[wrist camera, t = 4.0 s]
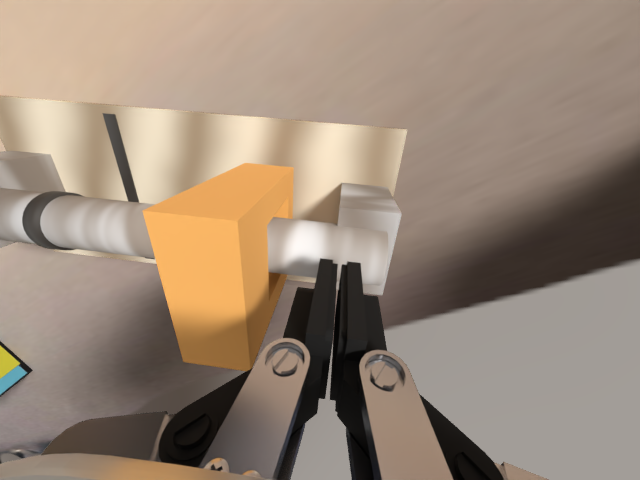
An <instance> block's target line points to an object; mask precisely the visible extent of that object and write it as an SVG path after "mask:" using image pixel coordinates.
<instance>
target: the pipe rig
mask: <svg viewBox="0 0 640 480" xmlns="http://www.w3.org/2000/svg"><path fill="white" fill-rule="evenodd" d="M406 134H407V130H406V129H398V128H386V127H374V126H362V125H349V124H337V123H325V122H313V121H301V120H289V119H277V118H265V117H253V116H240V115H228V114H216V113H204V112H192V111H180V110H168V109H156V108H144V107H131V106H119V105H107V104H95V103H83V102H71V101H59V100H47V99H35V98H22V97H10V96H0V139H1V141H2V143H3V145H4V147H5V149H6V151H4V152H0V248H2V247H4V246H7V245H10V244H12V243H15V242H22V243H30V244H37V245H39V246H42V247H45V248H49V249H54V251H56V252H65V253H73V254H81V255H89V256H97V257H106V258H114V259H122V260H130V261H138V262H147V263H155V264H157V263H156V259H155V256H154V252H153V248H152V245H151V241H150V237H149V233H148V230H147V226H146V222H145V219H144V215H143V210H145V209H147V208H149V207H151V206H153V205H155V204H158V203H160V202H162V201H164V200H166V199H168V198H171V197H173V196H175V195H177V194H179V193H181V192H183V191H186V190H188V189H190V188H192V187H194V186H196V185H199V184H201V183H203V182H205V181H207V180H209V179H211V178H214V177H216V176H218V175H220V174H222V173H224V172H226V171H229V170H231V169H233V168H235V167H237V166H239V165H242V164H244V163H253V164H263V165H274V166H285V167H294V176H293V219H289V218H279V217H273V218H272V219H271V221H270V222H269V223H268V225H267V239H268V272H270V273H279V274H287V278H286V280H294V281H302V282H311V283H316V278H317V272H318V267H319V262H320V258H321V259H330V260H333V263H335V264H338V268H337V284H336V290H339V282H340V274H341V266H342V264H344V265H347V261H349V262H358V263H361V273H362V284H363V293H368V294H376V295H383V290H384V286H385V282H386V278H387V273H388V269H389V265H390V261H391V257H392V252H393V248H394V244H395V240H396V235H397V231H398V227H399V223H400V219H401V212H400V210H399V208H398V206H397V204H396V202H395V200H394V199H393V195H394V190H395V185H396V181H397V176H398V171H399V167H400V162H401V157H402V152H403V148H404V143H405V138H406Z"/></svg>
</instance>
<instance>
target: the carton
mask: <svg viewBox="0 0 640 480" xmlns="http://www.w3.org/2000/svg"><path fill="white" fill-rule="evenodd" d="M31 371H33V370H32V369H31V368H29V367H28V366H27V365H26V364H25V363H24V362H23V361H22V360H20V359H19V358H18V357H17V356H16V355H15V354H14V353H13V352H12V351H10V350H9V349H8V348H7V347H6V346H5V345H4V344H3V343H1V342H0V396H2V395H3V394H4V393H5V392H7V391H8V390H9V389H10V388H12V387H13V386H14V385H15V384H16V383H18V382H19V381H20V380H21V379H23V378H24V377H25V376H26V375H28V374H29V373H30V372H31Z"/></svg>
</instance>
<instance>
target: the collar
mask: <svg viewBox="0 0 640 480" xmlns="http://www.w3.org/2000/svg"><path fill="white" fill-rule="evenodd" d="M293 176H294V167H285V166H274V165H263V164H253V163H244V164H242V165H239V166H237V167H235V168H233V169H231V170H229V171H226V172H224V173H222V174H220V175H218V176H216V177H214V178H211V179H209V180H207V181H205V182H203V183H201V184H199V185H196V186H194V187H192V188H190V189H188V190H186V191H183V192H181V193H179V194H177V195H175V196H173V197H171V198H168V199H166V200H164V201H162V202H160V203H158V204H155V205H153V206H151V207H149V208H147V209H145V210H143V215H144V219H145V222H146V226H147V230H148V233H149V237H150V241H151V245H152V248H153V252H154V256H155V259H156V263H157V267H158V270H159V274H160V278H161V281H162V285H163V289H164V292H165V296H166V300H167V303H168V307H169V311H170V314H171V318H172V322H173V326H174V329H175V333H176V337H177V340H178V344H179V348H180V351H181V355H182V359H183V362H187V363H194V364H200V365H207V366H214V367H221V368H228V369H235V370H241V371H248V370H250V369H252V367H253V364H254V362H255V359H256V357H257V354H258V351H259V349H260V346H261V344H262V341H263V338H264V336H265V333H266V330H267V328H268V325H269V323H270V320H271V317H272V315H273V312H274V309H275V307H276V304H277V302H278V299H279V296H280V294H281V291H282V289H283V286H284V283H285V281H286V278H287V274H279V273H270V272H268V239H267V225H268V223H269V222H270V221H271V219H272V218H273V217H279V218H289V219H293Z"/></svg>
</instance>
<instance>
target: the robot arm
mask: <svg viewBox="0 0 640 480" xmlns="http://www.w3.org/2000/svg"><path fill="white" fill-rule="evenodd" d="M337 268H338V264H335V263H333V260H330V259H321V258H320V262H319V267H318V272H317V278H316V283H315V288H314V289H309V288H300V287H298V288H297V291H296V294H295V298H294V301H293V305H292V308H291V312H290V315H289V318H288V322H287V325H286V329H285V332H284V336H283V338H282V339H277V340H275V341H272V342H271V343H270V344H268V345H267V346H266V347H265V348H264V350H263V351H262V352H261V354H260V356H259V358H258V360H257V362H256V363H255V365H254V367H253V368H252V369H250V370H248V371H246V372H245V373H243V374H241V375H240V376H238V377H236V378H235V379H233V380H231V381H229V382H228V383H226V384H224V385H223V386H221V387H219V388H218V389H216V390H214V391H212V392H211V393H209V394H207V395H206V396H204V397H202V398H200V399H199V400H197V401H195V402H193V403H192V404H190V405H188V406H187V407H185V408H184V409H182V410H181V411H180V412H178V413H177V414H169V415H168V413H167V411H162V412H153V413H143V414H134V415H124V416H115V417H105V418H96V419H89V420H86V421H82V422H79V423H77V424H75V425H73V426H71V427H69V428H67V429H66V430H65V431H63V432H62V433H61V434H60V435H58V436H57V437H56V438H55V439H54V440H53V441H52V442H51V443H50V444H49V445H48V446H47V448H46V449H45V450H44V451H43V453H42V454H41V455H40V456H33V457H28V458H23V459H19V460H14V461H9V462H5V463H2V464H0V480H290V479H291V475H292V472H293V468H294V464H295V460H296V457H297V453H298V449H299V446H300V443H301V439H302V435H303V432H304V428H305V423H306V422H307V421H308V420H309V419H310V418H312V417H313V416H314V415H315V414H316V413H317V409H318V400H319V398H321V399H325V394H326V386H327V379H328V372H329V363H330V356H331V349H332V341H333V330H334V341H333V358H332V374H331V389H330V390H331V391H330V400H335V401H336V409H335V411H336V412H337V413H338V414H337V416H338V417H339V419H340V420H341V421H342V422H343V424H344V425H345V426H346V437H347V445H348V453H349V461H350V469H351V477H352V480H548V479H546V478H543V477H540V476H538V475H536V474H533V473H531V472H528V471H525V470H523V469H520V468H518V467H515V466H513V465H510V464H508V463H505V462H503V463H502V464H501V465H499V464H497V463H494V462H493V461H492V460H491V459H490V458H489V457H488V456H487V455H486V453H485V452H483V451H482V450H481V449H480V448H479V447H478V446H477V445H476V444H474V442H472V441H471V440H470V439H469V438H468V437H467V436H466V435H465V434H463V433H462V432H461V431H460V430H459V429H458V428H457V427H455V425H453V424H452V423H451V422H450V421H449V420H448V419H447V418H446V417H444V416H443V415H442V414H441V413H440V412H439V411H438V410H437V409H436V408H434V407H433V406H432V405H431V404H430V403H429V402H428V401H427V400H425V399H424V398H423V397H422V396H421V395H420V394H419V393H418V390H417V388H416V385H415V383H414V380H413V378H412V375H411V373H410V371H409V369H408V367H407V365H406V364H405V363H404V362H403V361H402V360H401V359H400V358H399V357H397V356H396V355H394V354H393V353H390V352H388V351H387V348H386V342H385V336H384V330H383V324H382V318H381V312H380V306H379V300H378V297H377V296H368V295H363V284H362V273H361V263H358V262H349V261H347V265H344V264H342V266H341V274H340V282H339V290H338V297H337V305H336V313H335V299H336V284H337ZM334 315H335V324H334Z"/></svg>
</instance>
